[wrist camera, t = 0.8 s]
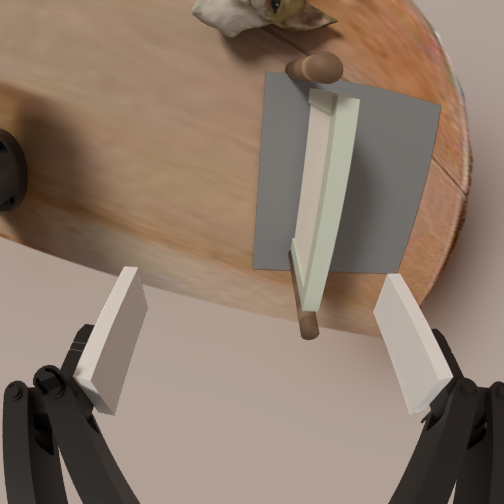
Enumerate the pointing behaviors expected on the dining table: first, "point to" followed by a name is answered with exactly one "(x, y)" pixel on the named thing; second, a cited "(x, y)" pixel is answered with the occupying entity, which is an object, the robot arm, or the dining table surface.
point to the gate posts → (326, 72)
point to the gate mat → (359, 180)
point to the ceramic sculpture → (259, 15)
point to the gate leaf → (322, 190)
